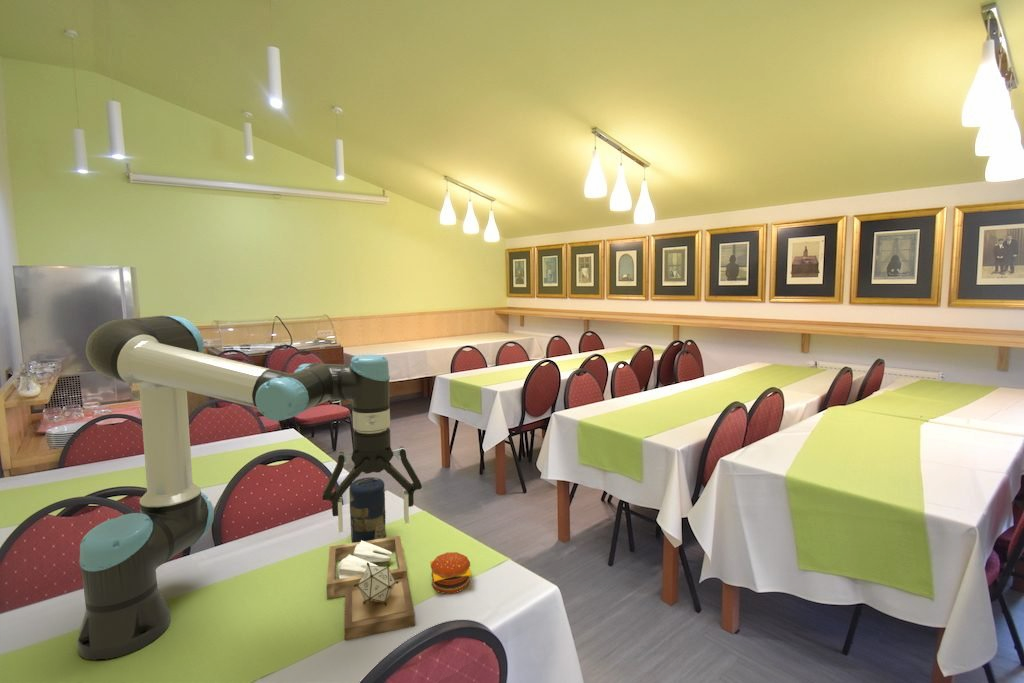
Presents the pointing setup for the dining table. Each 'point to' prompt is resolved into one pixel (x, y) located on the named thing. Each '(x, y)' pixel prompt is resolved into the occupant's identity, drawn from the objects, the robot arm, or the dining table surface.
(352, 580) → the oak frame
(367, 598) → the game die
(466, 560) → the hamburger
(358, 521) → the canister
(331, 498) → the robot arm
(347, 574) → the white folded napkins
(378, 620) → the walnut board
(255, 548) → the dining table surface
